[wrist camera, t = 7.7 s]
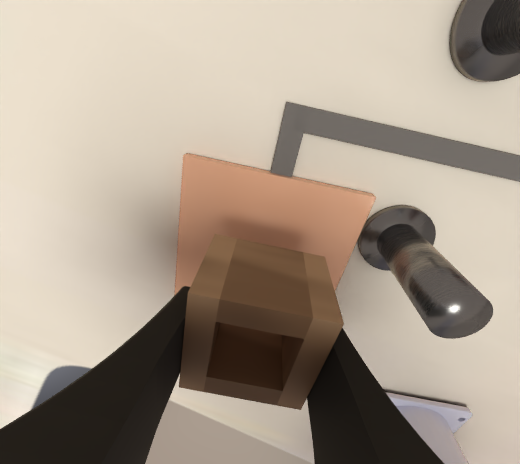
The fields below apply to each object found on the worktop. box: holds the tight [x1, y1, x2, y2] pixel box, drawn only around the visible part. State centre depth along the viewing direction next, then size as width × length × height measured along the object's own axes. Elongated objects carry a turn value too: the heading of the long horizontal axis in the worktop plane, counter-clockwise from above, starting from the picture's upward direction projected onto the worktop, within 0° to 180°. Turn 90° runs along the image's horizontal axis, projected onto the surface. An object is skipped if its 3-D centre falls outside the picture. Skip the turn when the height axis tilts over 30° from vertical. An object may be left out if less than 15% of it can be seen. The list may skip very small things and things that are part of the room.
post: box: [358, 205, 493, 338], centre depth 11 cm, size 4×4×6 cm
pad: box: [175, 153, 376, 295], centre depth 14 cm, size 9×9×1 cm
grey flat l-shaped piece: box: [271, 102, 520, 182], centre depth 12 cm, size 4×12×1 cm, turn 78°
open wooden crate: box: [179, 234, 344, 410], centre depth 10 cm, size 4×4×4 cm
